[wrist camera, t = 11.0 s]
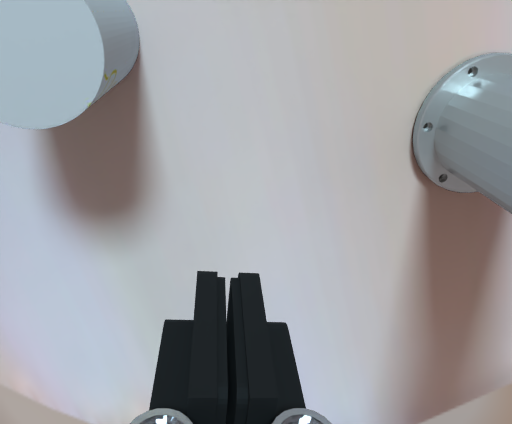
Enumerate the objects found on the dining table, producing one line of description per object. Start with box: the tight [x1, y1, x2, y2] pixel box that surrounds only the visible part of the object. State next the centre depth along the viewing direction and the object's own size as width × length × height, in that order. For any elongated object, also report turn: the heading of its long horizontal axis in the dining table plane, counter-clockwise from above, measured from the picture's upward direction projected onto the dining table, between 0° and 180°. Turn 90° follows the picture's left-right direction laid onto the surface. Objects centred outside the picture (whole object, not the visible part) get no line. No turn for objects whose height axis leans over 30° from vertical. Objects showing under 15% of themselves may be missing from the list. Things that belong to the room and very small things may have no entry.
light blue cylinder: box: [0, 0, 139, 129], centre depth 25 cm, size 8×8×12 cm
